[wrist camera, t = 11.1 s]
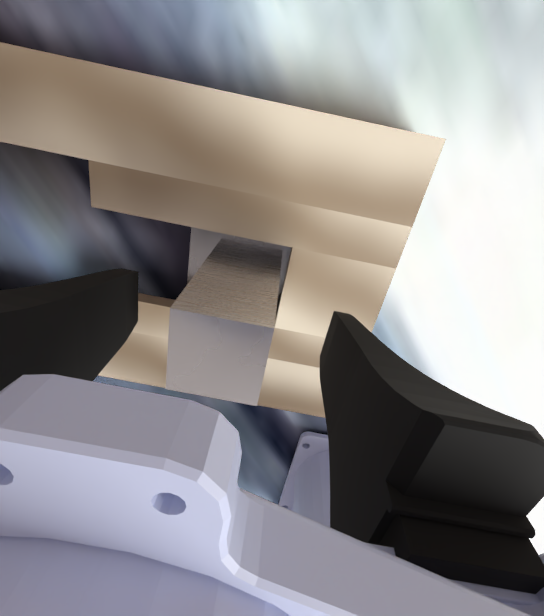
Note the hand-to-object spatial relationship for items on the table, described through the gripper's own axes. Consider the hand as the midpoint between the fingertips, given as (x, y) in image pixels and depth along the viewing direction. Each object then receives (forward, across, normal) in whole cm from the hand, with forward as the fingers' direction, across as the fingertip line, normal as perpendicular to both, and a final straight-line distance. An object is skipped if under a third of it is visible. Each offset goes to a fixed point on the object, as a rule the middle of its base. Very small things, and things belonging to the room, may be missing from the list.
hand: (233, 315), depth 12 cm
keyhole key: (+6, 0, 0) cm, 6 cm away
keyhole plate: (+6, +6, 0) cm, 8 cm away
